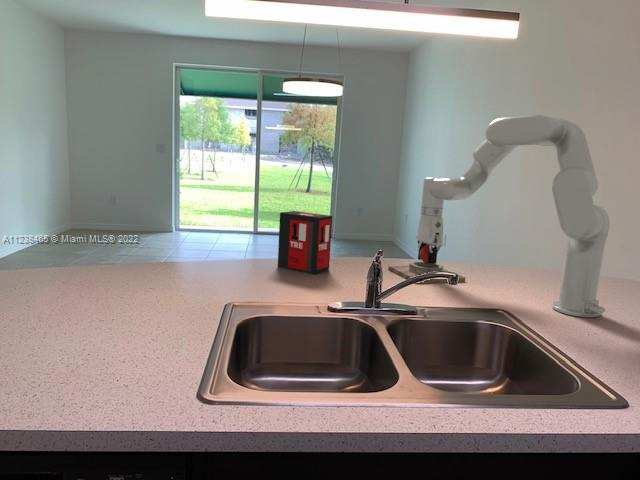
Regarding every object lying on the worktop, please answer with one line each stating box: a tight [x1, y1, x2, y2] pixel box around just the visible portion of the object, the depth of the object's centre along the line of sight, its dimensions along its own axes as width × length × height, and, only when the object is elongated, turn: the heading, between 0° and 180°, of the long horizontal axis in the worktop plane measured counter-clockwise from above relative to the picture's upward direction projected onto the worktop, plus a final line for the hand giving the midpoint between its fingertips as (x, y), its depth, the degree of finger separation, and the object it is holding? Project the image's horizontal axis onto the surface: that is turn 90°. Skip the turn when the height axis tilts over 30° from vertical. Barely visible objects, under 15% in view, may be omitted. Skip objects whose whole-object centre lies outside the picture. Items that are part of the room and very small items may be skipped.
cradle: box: [387, 260, 466, 284], centre depth 183 cm, size 20×20×4 cm
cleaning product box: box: [277, 210, 333, 276], centre depth 181 cm, size 16×9×20 cm, turn 58°
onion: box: [418, 244, 430, 264], centre depth 182 cm, size 6×6×8 cm
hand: (426, 260), depth 182 cm, fingers closed on onion, 5 cm apart
